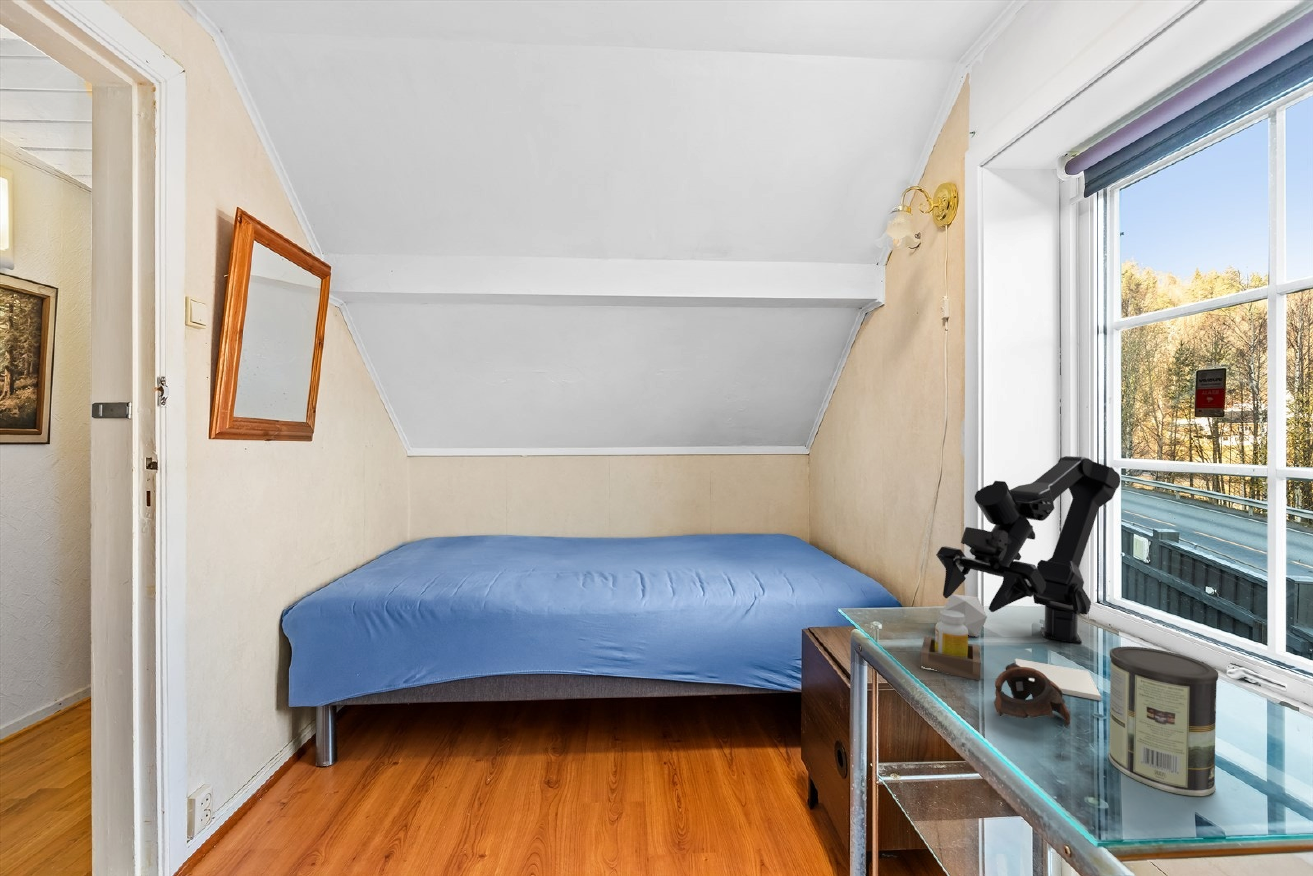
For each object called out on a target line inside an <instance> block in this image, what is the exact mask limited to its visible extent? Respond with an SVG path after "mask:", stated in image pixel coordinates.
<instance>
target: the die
mask: <svg viewBox="0 0 1313 876" xmlns="http://www.w3.org/2000/svg"><path fill="white" fill-rule="evenodd" d="M979 599H980V598H979V597H978V596H969V595H962V594H954V593H953V594H952V595H951V596H949V597H948V598H947V602H946V604H945V606H944V608H943V610H952V611H957V612H960V613H963V614H964V616H965V622H964V623H963V625H964V626H966V628H967V629H968V635H969V636H968V637H974V636H975V637H974V638H978V637H979V635H980V634H981V631H982V629H983V627H984V625H985V623H986V620H987V618H988V616H987V614H986V611H985V609H984V607H983V606H982V604H981V602H980V601H981V600H979Z"/></svg>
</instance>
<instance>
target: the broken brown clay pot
mask: <svg viewBox="0 0 1313 876" xmlns="http://www.w3.org/2000/svg"><path fill="white" fill-rule="evenodd" d="M1029 678H1033V679H1034V682H1033V681H1030V680H1029ZM994 682H995V683H994V687H995V692H994V693H995V694H994V695H995V698H994V708H995V711H996V713H997V714H998V716H999V717H1003V715H1006V716H1010V717H1015V718H1019V719H1020V718H1021V719H1024V720H1025V719H1029V718H1032V719H1035V718H1039V717H1042V716H1047V717H1050V718H1055V715H1054V712H1056V713H1058V714H1059V715H1060V716H1062V718H1063V719H1064V720H1065V723H1066V724H1067V725H1071V714H1070V711H1069V709H1068V707H1067V705H1066V704H1065V703H1066V702H1065V699H1064V698H1063V693H1062V691H1061V690H1060V688H1059V687H1058V686H1057V685H1056V684H1055V683H1053V682H1052V681H1051V680H1049V679H1048V678H1047V677H1046V676H1045V675H1044V674H1043V673H1041V672H1040V671H1038V670H1035V669H1033V668H1028V667H1020V666H1018V665H1017V664H1015V662H1014V663H1010V664H1007V665H1006V666H1005V668H1004V671H1002V672H1001V673H1000V674H999V675H998V677H996V679H995V681H994ZM1005 682H1006V683H1007V686H1008V688H1010V692H1011V695H1012V696H1010V695H1008V694H1007V693H1005V692H1004V691H1002V690H1003V684H1005ZM1030 695H1031V698H1029V696H1030ZM1027 698H1028V699H1027Z"/></svg>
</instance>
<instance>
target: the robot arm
mask: <svg viewBox="0 0 1313 876" xmlns="http://www.w3.org/2000/svg"><path fill="white" fill-rule="evenodd" d="M1120 484H1121V475H1120V474H1119V473H1118V472H1117V471H1115V469H1114V468H1113V467H1112V466H1111V467H1110V466H1107V465H1105V464H1102V463H1099V462H1096V461H1093V460H1092V459H1090V458H1088V457H1085V456H1073V455H1072V456H1070V455H1069V456H1068V455H1067V456H1061V457H1059V458H1058V461H1057V463H1056V464H1055V465H1053V466H1052V467H1051V468H1049V469H1048V470H1047V471H1046V472H1044V473H1043V474H1042V475H1040V476H1039V477H1038V478H1037V479H1035V481H1033V482H1031V483H1027V484H1020V485H1018V486H1015V487H1013V488H1011V489H1010V488H1009V486H1008V484H1007V482H1006V481H1002V480H994V481H993V483H992V484H989V485H986V486H984V487H982V488H981V489H978V490H977V491H976V493H975V494H974V500H975V503H976V504H977V506H978V507H979V510H981V512H982V513H983V515H984V517H985V519H986V520H987V521H988V522H989V524H992V525H994V527H992V529H991V531H989V530H986V529H981V528H975V527H969V526H965V529H964V531H963V535H962V538H961V541H960V544H962V545H966V546H967V547H969V548H970V549H969V553H970V554H971V555H972V556H974V558H971V557H967V556H966V555H965V553H964V552H963V550H962V549H960V548H956V547H955V548H954V547H951V546H941V547H940V548H939V550H938V551H937V553H936V558H938V560H939V561H940V563H941V564H942V566H943V567H944V568H945V575H944V576H945V578H944V585H943V591H942V596H943V598H944V599H949V597H950V596H951V595H952V594H954V593H955V592H956V590H957V589H958V588H959V587H960V586H962V584H963V583H964V581H965V580H966V579H967V577H966V575H968V574H969V572H970V571H971V570H973V571H977V572H982V573H986V574H988V575H992V576H997V577H1001V578H1003V579H1002V583H1001V584H1000V587H999V588H998V590H997V592H996V593H995V595H994V596H993V598H992V600H991V602H990V603H989V606H988V610H989V612H991V613H995V612H997V611H998V610H1000V609H1002V608H1004V607H1006V606H1008V605H1010V604H1012V603H1014V602H1016V601H1019V600H1021V599H1024V598H1026V597H1030V598H1032V597H1033V603H1034V604H1035V605H1041V606H1044V626H1040V632H1041V635H1042V636H1043V638H1044V639H1049V640H1054V641H1055V640H1056V641H1063V642H1068V643H1075V644H1082V643H1083V640H1082V638H1081V637H1080V635H1079V633H1078V628H1079V627H1078V626H1079V621H1078V620H1079V615H1088V614H1089V612H1090V609H1091V605H1092V601H1091V599H1090V598H1089V596H1088V595H1087V593H1086V591H1085V589H1084V585H1085V581H1084V579H1083V575H1082V573H1081V571H1080V565H1081V562H1082V560H1083V557H1084V553H1085V551H1086V547H1087V544H1088V542H1089V539H1090V536H1091V533H1092V530H1093V527H1094V524H1095V521H1096V519H1097V515H1098V512H1099V510H1100V508H1101V507H1103V506H1104V505H1105V504H1106V503H1108V502H1109V501H1111V500H1112V499H1113V498H1114V495H1115V493H1116V492H1117V489H1119V487H1120ZM1067 490H1069V492H1070V494H1071V497H1072V498H1071V499H1072V500H1071V503H1070V505H1069V508H1068V510H1067V514H1066V517H1065V520H1064V522H1063V525H1062V528H1061V531H1060V534H1059V537H1058V540H1057V542H1056V545H1055V548H1054V551H1053V553H1052V556H1051V557H1050V558H1049V559H1047V560H1043V559H1040V560H1039V561H1038V562H1037V565H1035V564H1032V563H1028V562H1024V561H1023V562H1022V561H1020V560H1021V558H1022V555H1021V554H1020V551H1021V549H1022V548H1023V546H1024V544H1025V542H1026V541H1027V539H1028V540H1035V539H1036V533H1035V531H1034V526H1033V525H1032V524H1031V523H1030V521H1029V520H1033V521H1041V522H1042V521H1045V520H1046V519H1047V518H1048V517H1049V516H1050V514H1051V513H1052V512H1053V511H1054V510H1055V504H1054V501H1055V500H1056V499H1057V498H1058V497H1060V496H1061V495H1062V494H1063V493H1064V492H1066V491H1067Z"/></svg>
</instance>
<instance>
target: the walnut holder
mask: <svg viewBox="0 0 1313 876" xmlns="http://www.w3.org/2000/svg"><path fill="white" fill-rule="evenodd" d="M981 658H982V657H981V645H978V644H971V643H968V654H967V658H963V657H958V656H952V655H946V654H941V653H935V637H931V636H926V635H925V636H923V642H922V647H921V651H920V667H921V666H923V667H925V668H931V669H934V670H937V671H939V672H938V673H940V672H943V673H942V674H945V673H948V674H947V675H950V674H951V676H954V677H955V676H956V677H961V678H966V679H971V680H972V679H973V680H976V681H981V680H982V679H981V676H982V659H981Z"/></svg>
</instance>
